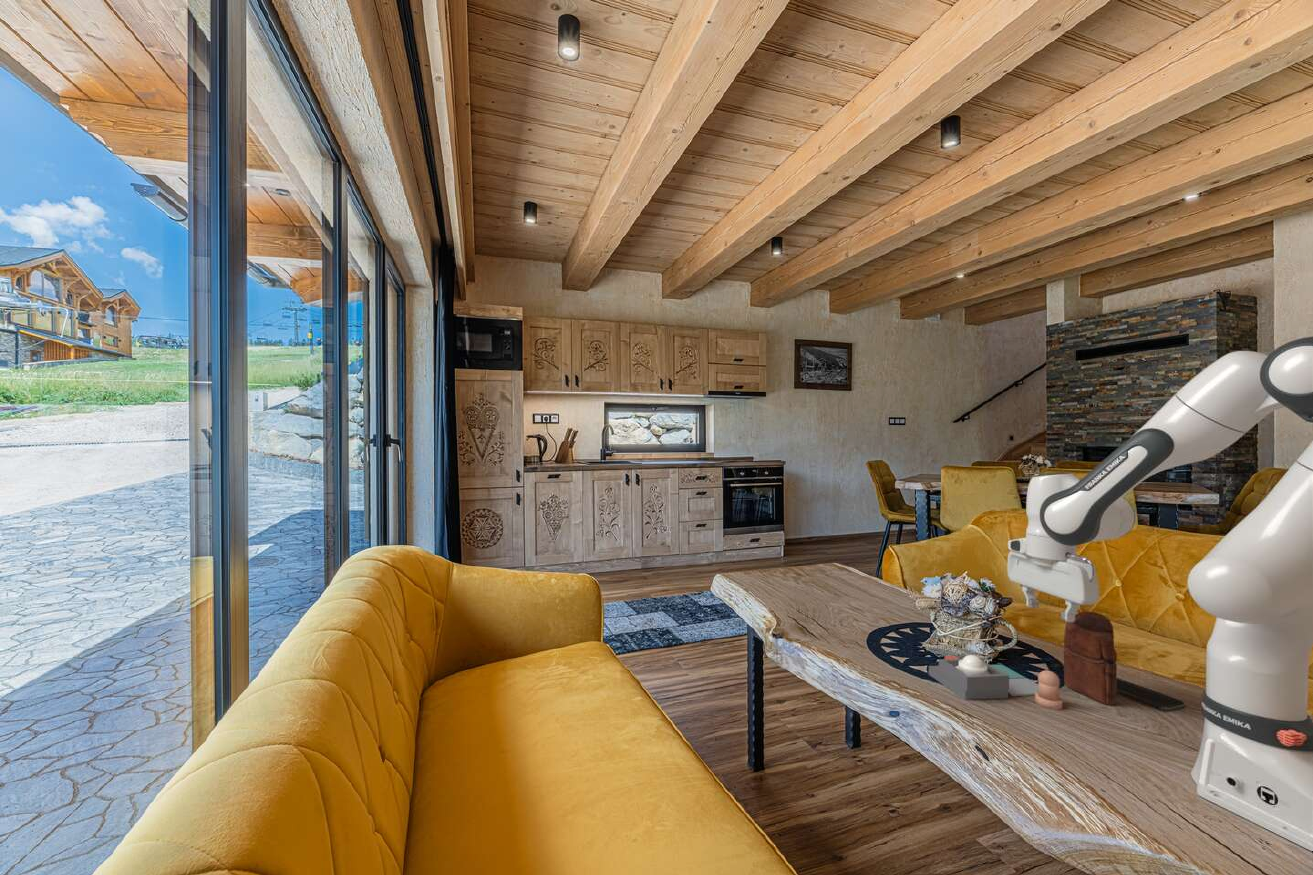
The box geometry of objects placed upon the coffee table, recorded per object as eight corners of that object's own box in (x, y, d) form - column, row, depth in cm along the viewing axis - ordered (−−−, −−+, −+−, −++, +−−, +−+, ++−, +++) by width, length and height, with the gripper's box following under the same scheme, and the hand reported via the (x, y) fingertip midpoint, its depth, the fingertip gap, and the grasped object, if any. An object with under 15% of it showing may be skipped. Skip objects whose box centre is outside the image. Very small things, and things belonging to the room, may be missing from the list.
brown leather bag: (1130, 704, 119) (1131, 619, 120) (1106, 707, 118) (1107, 621, 118) (1077, 681, 131) (1078, 603, 131) (1055, 683, 130) (1056, 605, 130)
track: (1053, 694, 124) (1053, 692, 124) (1011, 696, 122) (1011, 694, 122) (1001, 666, 139) (1001, 664, 139) (964, 667, 138) (964, 665, 138)
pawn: (1068, 709, 117) (1068, 675, 117) (1047, 710, 116) (1047, 676, 116) (1049, 698, 121) (1049, 666, 122) (1029, 699, 121) (1029, 666, 121)
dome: (998, 685, 122) (998, 661, 122) (968, 686, 121) (969, 662, 122) (976, 672, 129) (976, 649, 129) (948, 673, 128) (948, 650, 128)
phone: (1164, 708, 116) (1087, 678, 130) (1164, 714, 116) (1087, 683, 130) (1188, 703, 119) (1110, 674, 133) (1188, 708, 119) (1110, 679, 133)
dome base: (1009, 698, 121) (1009, 675, 121) (966, 700, 120) (966, 677, 120) (967, 673, 134) (968, 652, 134) (928, 674, 133) (929, 653, 133)
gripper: (1108, 558, 109) (1107, 630, 109) (1027, 540, 129) (1026, 600, 129) (1079, 559, 108) (1078, 630, 108) (1002, 540, 129) (1001, 600, 129)
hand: (1049, 614), depth 119 cm, fingers open, 8 cm apart
